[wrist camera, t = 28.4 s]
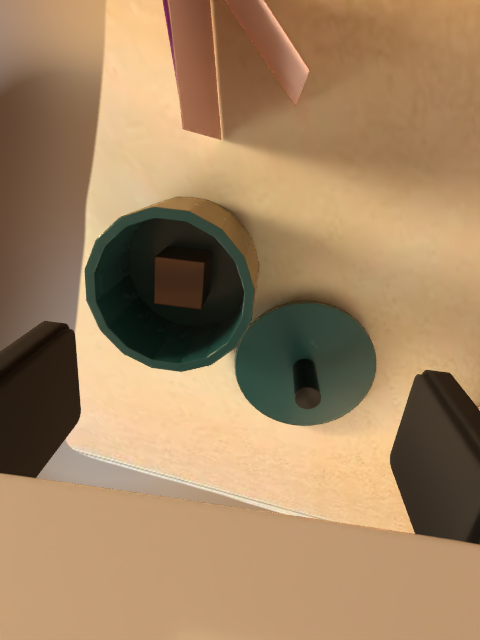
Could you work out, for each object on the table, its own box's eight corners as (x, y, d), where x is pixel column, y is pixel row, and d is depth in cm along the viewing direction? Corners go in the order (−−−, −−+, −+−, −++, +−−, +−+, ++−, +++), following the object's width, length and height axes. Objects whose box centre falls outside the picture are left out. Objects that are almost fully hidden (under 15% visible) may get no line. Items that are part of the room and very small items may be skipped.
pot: (250, 338, 41) (244, 380, 34) (124, 321, 42) (89, 359, 34) (266, 205, 36) (263, 219, 28) (122, 189, 37) (80, 198, 29)
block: (209, 294, 39) (201, 309, 35) (166, 288, 40) (153, 303, 35) (212, 251, 38) (204, 262, 34) (167, 245, 38) (154, 256, 34)
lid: (357, 427, 44) (370, 470, 38) (230, 410, 45) (222, 450, 39) (388, 308, 39) (409, 337, 33) (242, 290, 39) (236, 315, 33)
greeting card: (196, -23, 30) (127, -175, 16) (294, -36, 29) (308, -207, 15) (211, 140, 34) (166, 130, 21) (296, 133, 34) (309, 117, 20)
